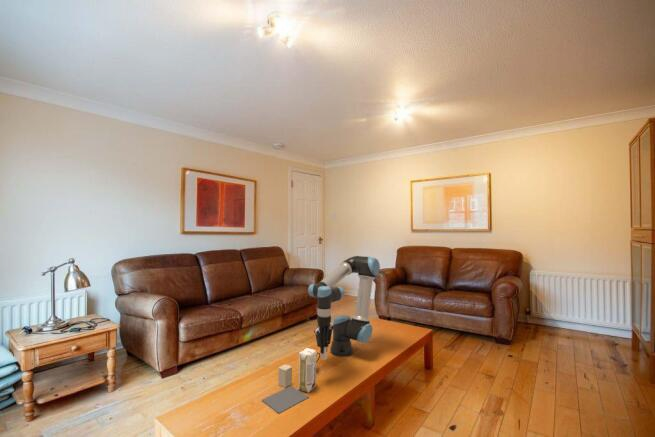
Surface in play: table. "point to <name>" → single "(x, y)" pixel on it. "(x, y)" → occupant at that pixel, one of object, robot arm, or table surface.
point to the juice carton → (307, 370)
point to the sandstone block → (285, 376)
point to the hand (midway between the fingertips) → (323, 358)
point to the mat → (285, 399)
